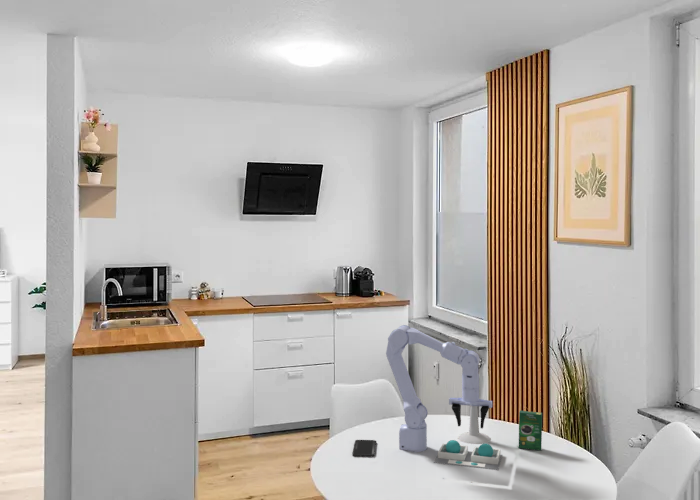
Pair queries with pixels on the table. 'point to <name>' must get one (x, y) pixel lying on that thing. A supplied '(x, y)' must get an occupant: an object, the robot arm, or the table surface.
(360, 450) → the phone
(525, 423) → the coffee box
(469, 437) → the candlestick
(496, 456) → the sorting tray
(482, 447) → the loose teal ball
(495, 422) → the table surface
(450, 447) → the seated teal ball
